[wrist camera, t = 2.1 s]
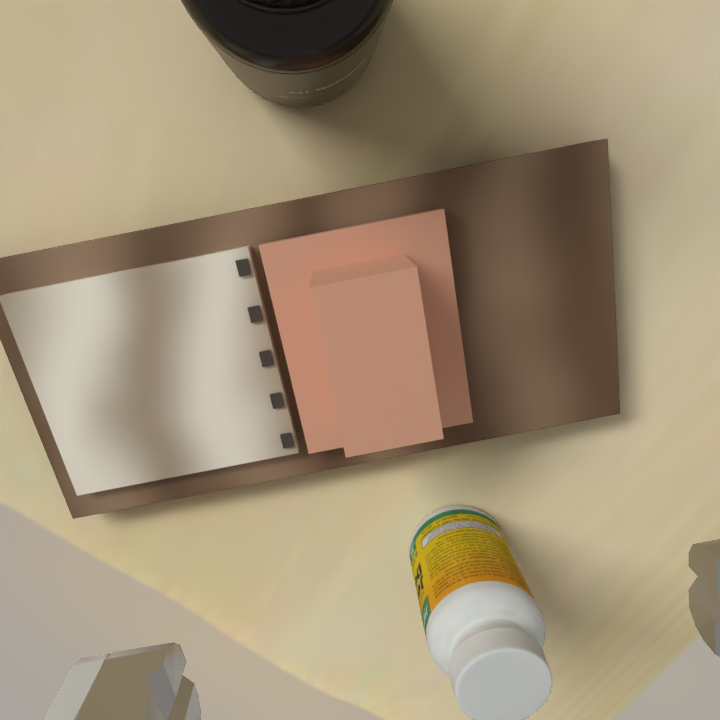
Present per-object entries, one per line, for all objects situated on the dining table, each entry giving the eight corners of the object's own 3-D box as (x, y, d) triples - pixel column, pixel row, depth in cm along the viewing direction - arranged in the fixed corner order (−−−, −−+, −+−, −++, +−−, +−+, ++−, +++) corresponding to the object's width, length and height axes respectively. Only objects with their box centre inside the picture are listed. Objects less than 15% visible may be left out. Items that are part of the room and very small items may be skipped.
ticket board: (591, 141, 25) (616, 137, 23) (606, 402, 29) (628, 419, 27) (-10, 260, 25) (-42, 267, 23) (85, 502, 29) (66, 527, 27)
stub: (441, 208, 24) (466, 214, 20) (470, 417, 27) (497, 462, 23) (260, 244, 24) (244, 257, 20) (309, 448, 27) (304, 498, 23)
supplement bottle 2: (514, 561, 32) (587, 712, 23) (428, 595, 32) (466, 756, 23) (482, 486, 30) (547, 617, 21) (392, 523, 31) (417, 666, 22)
